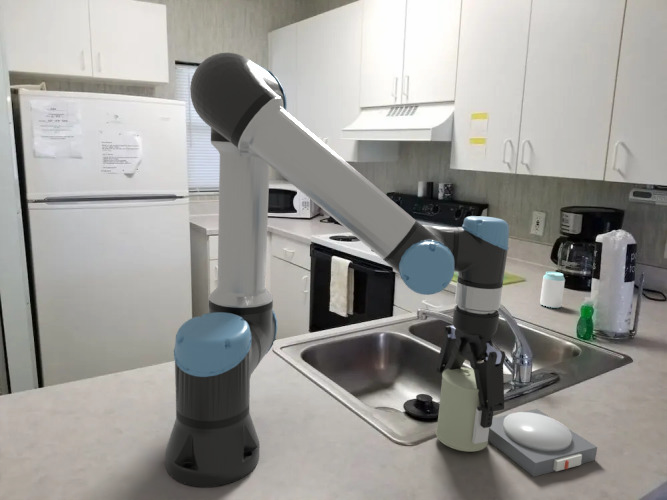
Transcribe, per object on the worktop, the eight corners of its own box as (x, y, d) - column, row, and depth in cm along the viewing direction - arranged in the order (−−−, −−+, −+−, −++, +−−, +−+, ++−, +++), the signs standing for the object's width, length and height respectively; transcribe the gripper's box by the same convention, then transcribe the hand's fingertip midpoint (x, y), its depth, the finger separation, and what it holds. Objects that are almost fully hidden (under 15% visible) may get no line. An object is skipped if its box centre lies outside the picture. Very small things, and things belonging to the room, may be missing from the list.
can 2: (563, 310, 177) (568, 276, 175) (542, 308, 178) (546, 274, 176) (558, 304, 184) (562, 271, 182) (537, 302, 185) (541, 270, 183)
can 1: (478, 424, 97) (486, 365, 95) (495, 452, 88) (503, 388, 86) (430, 422, 97) (436, 363, 95) (442, 451, 88) (449, 386, 86)
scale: (538, 480, 83) (540, 461, 82) (478, 432, 97) (480, 415, 96) (600, 463, 88) (603, 445, 88) (535, 420, 102) (537, 404, 101)
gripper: (540, 326, 80) (521, 457, 84) (456, 288, 99) (444, 396, 103) (502, 330, 77) (485, 465, 81) (423, 291, 96) (413, 401, 100)
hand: (462, 427), depth 92 cm, fingers closed on can 1, 9 cm apart
